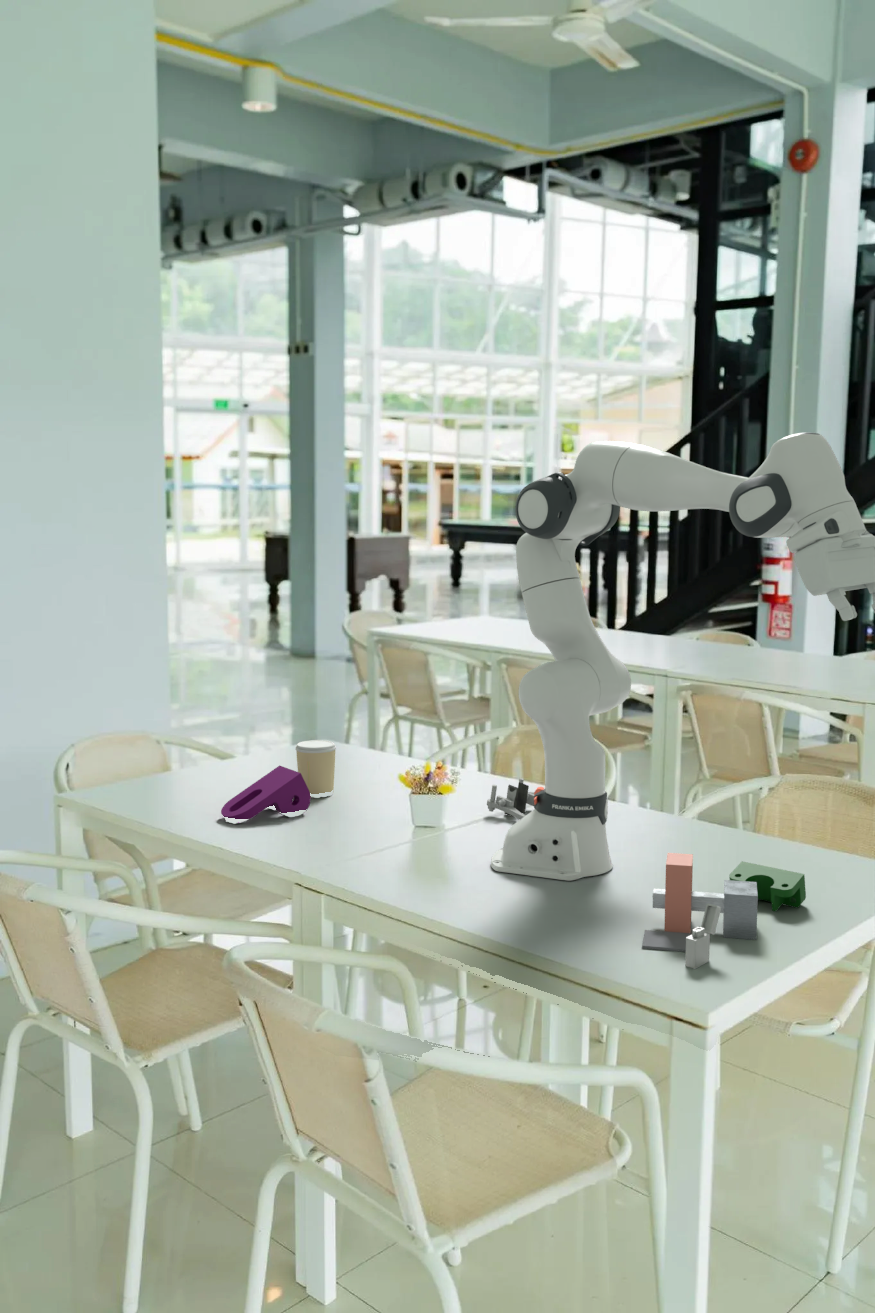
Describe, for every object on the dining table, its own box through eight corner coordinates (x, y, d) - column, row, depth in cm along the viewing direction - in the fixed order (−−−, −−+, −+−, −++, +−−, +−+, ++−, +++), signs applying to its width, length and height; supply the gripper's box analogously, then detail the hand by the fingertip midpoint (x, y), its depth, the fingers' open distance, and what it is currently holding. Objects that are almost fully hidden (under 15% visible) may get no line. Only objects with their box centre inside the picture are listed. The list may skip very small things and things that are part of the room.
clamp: (741, 926, 202) (717, 879, 202) (756, 909, 206) (733, 863, 206) (802, 916, 194) (777, 867, 193) (816, 898, 198) (792, 850, 197)
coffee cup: (320, 787, 283) (319, 738, 282) (344, 794, 277) (344, 743, 275) (288, 794, 277) (287, 743, 276) (312, 801, 270) (311, 749, 269)
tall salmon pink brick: (664, 932, 187) (665, 864, 186) (666, 918, 193) (667, 852, 192) (690, 934, 186) (692, 866, 185) (691, 920, 192) (692, 854, 191)
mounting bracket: (250, 852, 251) (316, 804, 260) (233, 820, 248) (300, 773, 257) (230, 842, 259) (294, 796, 267) (213, 811, 256) (279, 765, 264)
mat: (642, 948, 180) (642, 945, 180) (644, 932, 187) (644, 929, 187) (689, 952, 179) (689, 949, 179) (690, 935, 186) (690, 933, 185)
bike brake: (479, 813, 257) (552, 844, 244) (483, 783, 255) (557, 813, 242) (518, 802, 267) (590, 832, 254) (522, 773, 265) (595, 802, 252)
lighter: (695, 969, 172) (696, 915, 171) (684, 966, 174) (686, 913, 172) (719, 955, 178) (721, 903, 176) (709, 952, 179) (711, 901, 178)
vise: (651, 931, 187) (652, 888, 187) (653, 916, 194) (654, 875, 193) (756, 939, 184) (757, 896, 183) (755, 924, 190) (756, 882, 190)
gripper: (851, 536, 189) (883, 616, 186) (779, 543, 175) (813, 630, 173) (885, 519, 184) (919, 602, 182) (814, 525, 171) (849, 614, 168)
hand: (866, 616), depth 177 cm, fingers open, 8 cm apart
